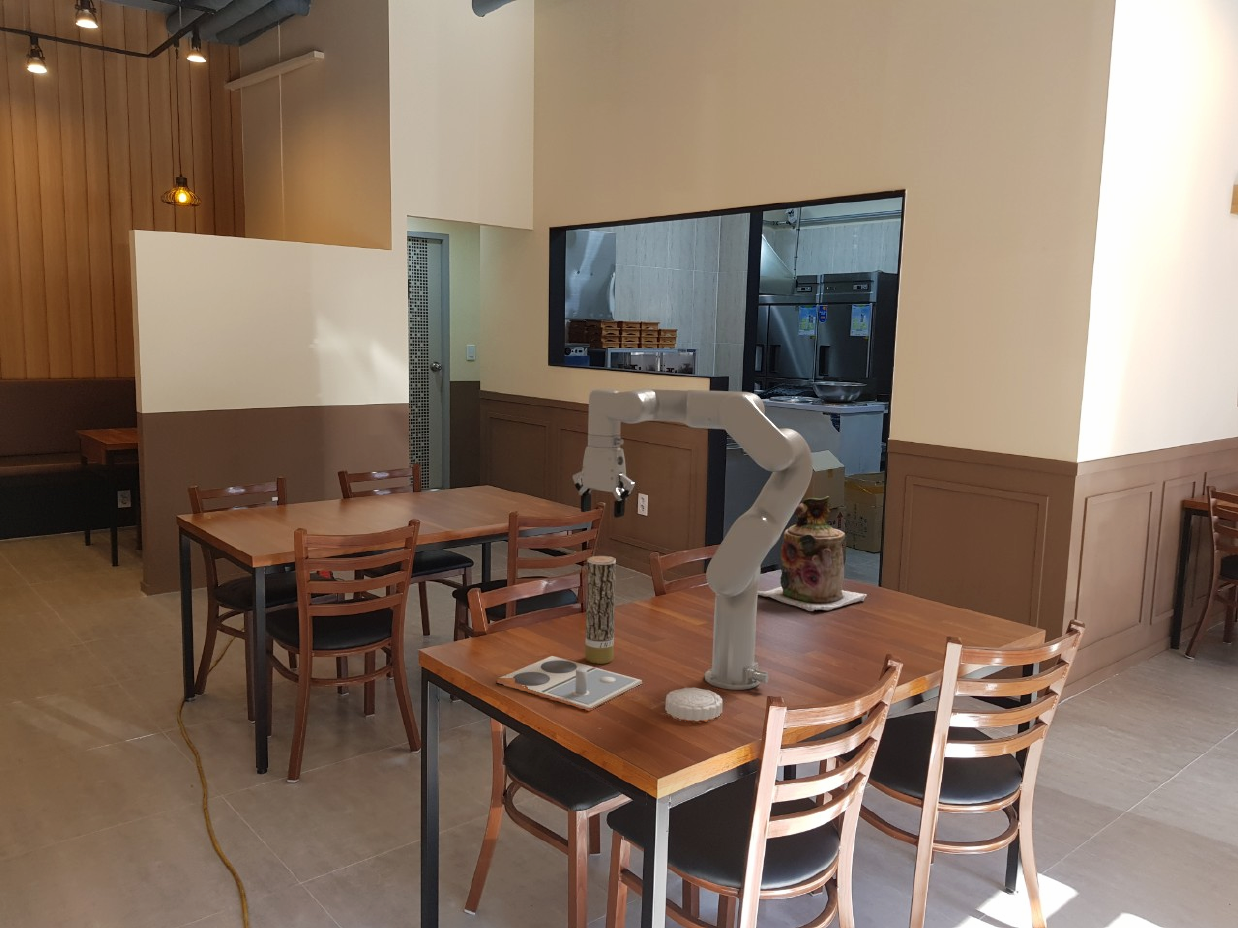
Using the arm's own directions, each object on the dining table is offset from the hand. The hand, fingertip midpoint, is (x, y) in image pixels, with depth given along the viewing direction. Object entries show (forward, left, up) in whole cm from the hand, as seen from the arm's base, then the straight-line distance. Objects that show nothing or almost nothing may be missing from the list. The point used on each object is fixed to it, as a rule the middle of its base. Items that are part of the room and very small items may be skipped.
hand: (602, 513), depth 227 cm
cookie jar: (-18, -85, -36) cm, 94 cm away
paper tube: (0, 0, -36) cm, 36 cm away
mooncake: (-34, +13, -36) cm, 52 cm away
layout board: (-4, +17, -36) cm, 40 cm away
